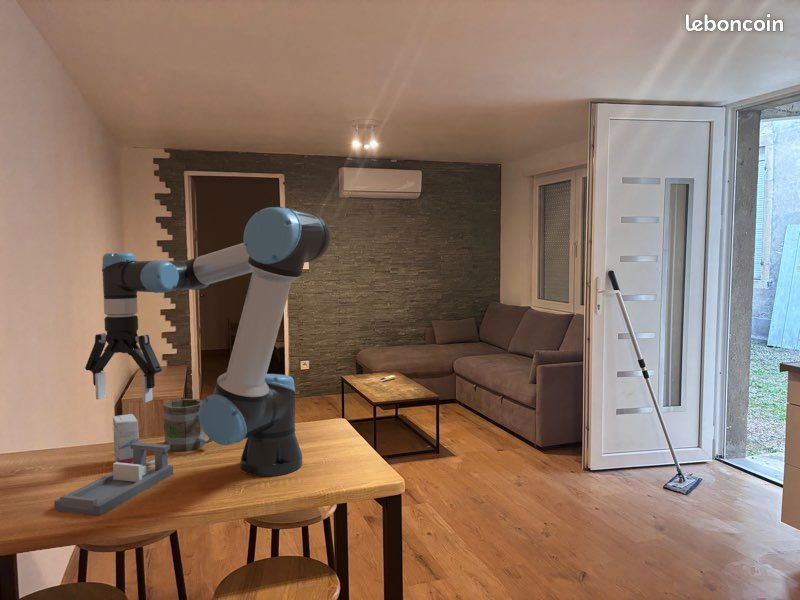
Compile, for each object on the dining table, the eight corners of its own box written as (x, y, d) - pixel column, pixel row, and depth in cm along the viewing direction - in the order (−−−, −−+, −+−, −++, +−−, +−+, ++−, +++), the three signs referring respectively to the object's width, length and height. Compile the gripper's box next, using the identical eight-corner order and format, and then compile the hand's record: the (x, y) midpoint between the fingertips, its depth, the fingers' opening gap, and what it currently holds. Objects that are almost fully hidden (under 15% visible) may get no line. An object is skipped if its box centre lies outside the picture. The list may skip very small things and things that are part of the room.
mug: (155, 449, 159) (154, 405, 158) (184, 438, 169) (183, 397, 168) (200, 456, 153) (199, 411, 152) (228, 444, 163) (227, 402, 162)
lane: (173, 473, 141) (172, 445, 140) (99, 516, 118) (98, 482, 117) (134, 469, 144) (133, 441, 143) (54, 510, 120) (53, 477, 120)
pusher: (172, 464, 144) (171, 449, 144) (139, 482, 132) (138, 466, 132) (148, 461, 145) (147, 447, 145) (113, 479, 134) (113, 463, 134)
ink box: (141, 467, 145) (139, 420, 145) (118, 471, 143) (117, 423, 142) (134, 457, 153) (133, 412, 152) (113, 461, 150) (112, 415, 149)
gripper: (174, 314, 146) (177, 398, 147) (90, 313, 151) (93, 393, 153) (155, 317, 138) (158, 406, 140) (67, 315, 144) (70, 400, 146)
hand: (124, 399), depth 146 cm, fingers open, 13 cm apart
